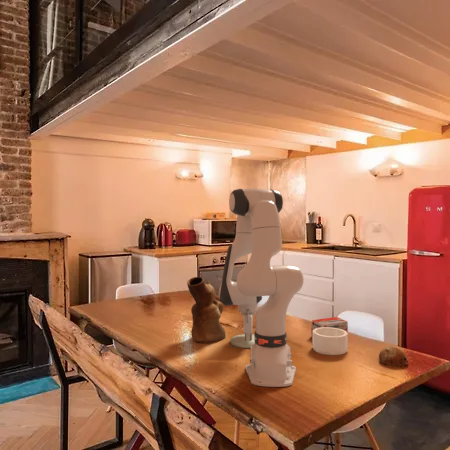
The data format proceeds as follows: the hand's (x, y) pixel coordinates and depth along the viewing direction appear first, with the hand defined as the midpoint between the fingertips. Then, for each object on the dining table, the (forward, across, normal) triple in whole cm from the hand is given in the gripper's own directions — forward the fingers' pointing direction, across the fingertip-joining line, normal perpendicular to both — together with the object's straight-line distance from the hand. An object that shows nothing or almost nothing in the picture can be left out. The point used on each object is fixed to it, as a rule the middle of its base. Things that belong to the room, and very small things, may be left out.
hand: (248, 337), depth 183 cm
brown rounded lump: (+3, -19, -57) cm, 60 cm away
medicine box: (+3, +12, -38) cm, 40 cm away
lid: (+2, 0, 0) cm, 2 cm away
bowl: (+2, -6, -35) cm, 36 cm away
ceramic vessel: (+3, +2, +20) cm, 20 cm away
